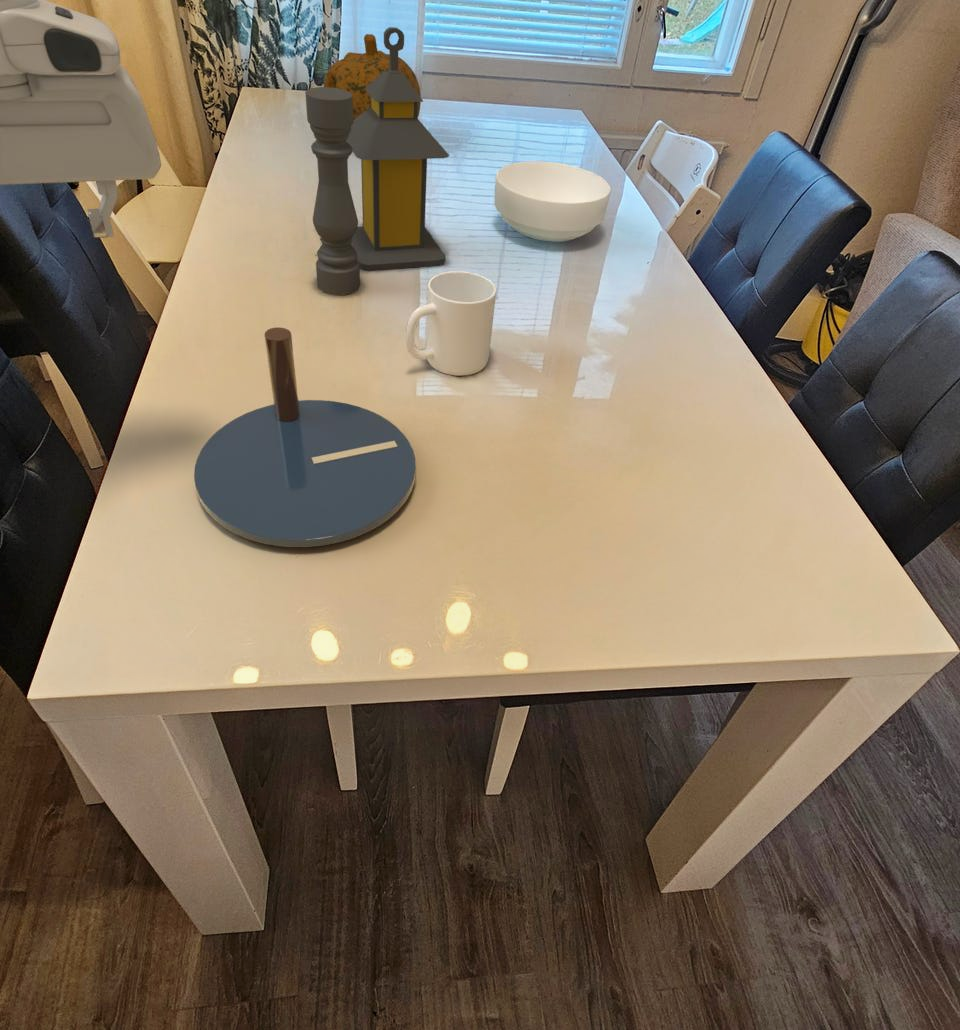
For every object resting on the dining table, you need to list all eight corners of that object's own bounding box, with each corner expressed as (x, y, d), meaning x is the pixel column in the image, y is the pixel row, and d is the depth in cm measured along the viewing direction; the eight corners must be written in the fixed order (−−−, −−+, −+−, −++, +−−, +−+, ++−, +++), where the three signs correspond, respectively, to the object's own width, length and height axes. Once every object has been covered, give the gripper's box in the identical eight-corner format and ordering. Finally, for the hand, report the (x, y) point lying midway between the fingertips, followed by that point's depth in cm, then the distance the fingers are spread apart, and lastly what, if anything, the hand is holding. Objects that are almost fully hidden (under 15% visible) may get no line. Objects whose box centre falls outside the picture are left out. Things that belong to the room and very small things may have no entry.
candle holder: (318, 274, 105) (304, 84, 88) (360, 276, 106) (354, 88, 89) (316, 294, 101) (301, 98, 84) (359, 295, 102) (354, 102, 85)
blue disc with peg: (217, 573, 62) (193, 479, 54) (180, 427, 76) (157, 336, 68) (448, 515, 70) (455, 426, 62) (376, 393, 84) (375, 307, 76)
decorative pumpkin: (432, 129, 158) (430, 23, 143) (408, 167, 145) (403, 55, 130) (346, 119, 161) (335, 14, 146) (314, 156, 147) (299, 44, 132)
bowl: (583, 264, 116) (593, 213, 111) (474, 236, 120) (478, 185, 115) (612, 224, 130) (622, 176, 124) (512, 200, 134) (518, 153, 128)
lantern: (447, 264, 112) (460, 42, 91) (360, 271, 108) (353, 39, 87) (422, 228, 121) (429, 18, 100) (340, 233, 117) (330, 14, 96)
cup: (500, 366, 92) (510, 293, 85) (423, 392, 86) (426, 316, 79) (464, 337, 96) (469, 266, 89) (388, 359, 91) (388, 285, 84)
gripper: (-246, 36, 40) (-128, 268, 50) (140, 45, 48) (179, 246, 57) (-222, 13, 44) (-117, 232, 54) (131, 25, 52) (168, 215, 61)
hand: (38, 239), depth 56 cm, fingers open, 8 cm apart
